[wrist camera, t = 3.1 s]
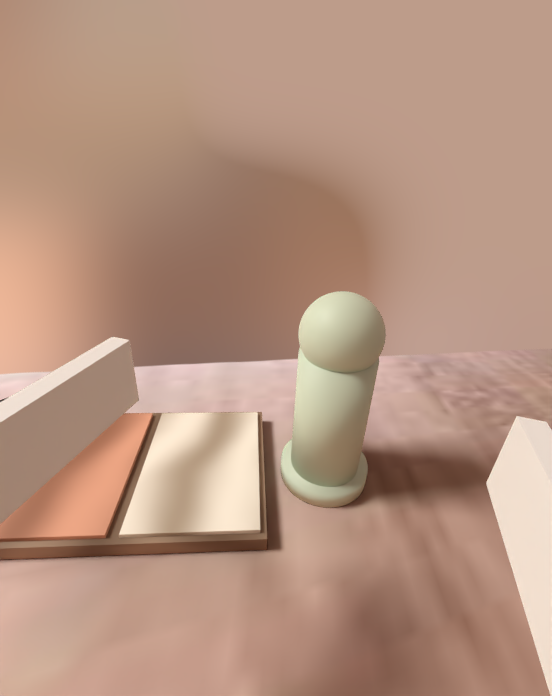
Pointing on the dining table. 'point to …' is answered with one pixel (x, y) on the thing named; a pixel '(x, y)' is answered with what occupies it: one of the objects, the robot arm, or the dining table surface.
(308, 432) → the pawn
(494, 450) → the dining table surface
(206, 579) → the dining table surface
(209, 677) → the dining table surface
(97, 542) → the board
